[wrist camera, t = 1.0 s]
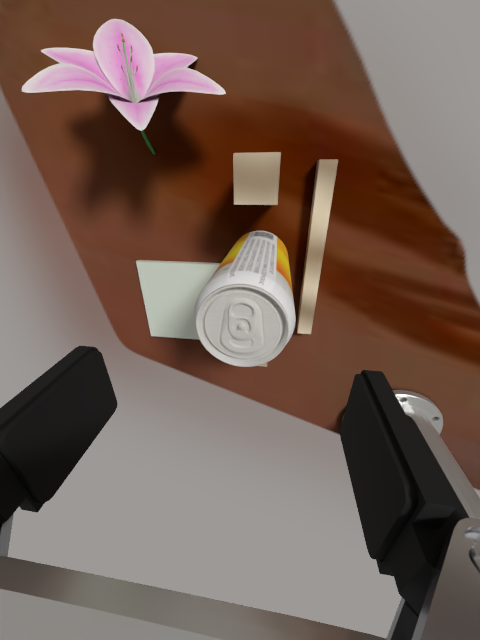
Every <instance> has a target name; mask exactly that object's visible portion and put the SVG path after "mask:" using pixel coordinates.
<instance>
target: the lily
mask: <svg viewBox="0 0 480 640" xmlns="http://www.w3.org/2000/svg"><path fill="white" fill-rule="evenodd" d="M93 48H94V52H93V51H88V50H83V49H74V48H47V49H43V50H41V52H42V53H44V54H46V55H47V56H49V57H51V58H53V59H54V60H56V61H58V62H59V64H56V65H53V66H49V67H48V68H46V69H44V70H42V71H40V72H39V73H37V74H36V75H35V76H33V77H32V78H31V79H29V80H28V81H27V82H26V83H25V84H24V86H23V87H22V92H27V93H35V92H50V91H65V90H87V91H98V92H103V93H105V94H107V95H108V96H109V97H108V98H109V100H110V101H111V102H112V103H113V105H114V106H115V107H116V108H117V109H118V110H119V112H120V113H121V114H122V115H123V116H124V117H125V118H126V119H127V120H128V121H129V122H130V123H131V124H132V125H133V126H134V127H135V128H136V129H138V130H140V131H141V133H142V136H143V137H144V139H145V141H146V143H147V145H148V147H149V148H150V150H151V152H152V153H153V155H155V154H156V153H155V151H154V149H153V147H152V145H151V144H150V142H149V140H148V138H147V136H146V134H145V132H144V129H145V128H146V127H147V125H148V123H149V121H150V119H151V117H152V115H153V113H154V111H155V108H156V106H157V103H158V100H159V97H157V96H158V95H159V94H160V93H165V92H177V91H187V92H199V93H208V94H219V95H223V94H226V92H225V90H224V89H223V88H222V87H221V86H219V85H218V84H217V83H216V82H214V81H213V80H211V79H210V78H208V77H207V76H205V75H203V74H201V73H199V72H198V71H195V70H192V69H190V68H187V67H188V66H189V65H190V64H192V63H193V62H194V61H195V60H197V59H198V58H197V57H195V56H193V55H188V54H181V53H160V54H153V51H152V48H151V46H150V44H149V42H148V41H147V39H146V38H145V37H144V36H143V35H142V33H141V32H139V31H138V30H137V29H136V28H135V27H133V26H132V25H130V24H129V23H127V22H125V21H123V20H119V19H112V20H109V21H107V22H106V23H104V24H103V25H102V26H101V27H100V28H99V29H98V31H97V32H96V34H95V36H94V42H93ZM110 97H111V98H110ZM156 97H157V98H156Z"/></svg>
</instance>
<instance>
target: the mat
mask: <svg viewBox="0 0 480 640" xmlns="http://www.w3.org/2000/svg"><path fill="white" fill-rule="evenodd" d="M136 264H137V269H138V274H139V279H140V284H141V289H142V294H143V299H144V303H145V308H146V313H147V318H148V323H149V328H150V333H151V336H158V337H171V338H185V339H198V340H200V339H199V337H198V334H197V330H196V321H195V305H196V301H197V298H198V296H199V294H200V292H201V291H202V289H203V288H204V287H205V285H206V284H207V282H208V281H209V280H210V278H211V277H212V275H213V274H214V273H215V271H216V270H217V268H218V267H219V265H220V264H221V263H206V262H179V261H151V260H138V261H136Z"/></svg>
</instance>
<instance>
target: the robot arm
mask: <svg viewBox="0 0 480 640" xmlns="http://www.w3.org/2000/svg"><path fill="white" fill-rule="evenodd" d="M116 408H117V400H116V397H115V394H114V391H113V387H112V384H111V381H110V378H109V375H108V372H107V369H106V366H105V363H104V359H103V356H102V354H101V352H99V351H98V349H97V348H95V347H87V346H79V347H77V348H75V349H74V350H73V351H71V352H70V353H69V354H68V355H66V356H65V357H64V358H63V359H62V360H60V361H59V362H58V363H56V364H55V365H54V366H53V367H52V368H50V369H49V370H48V371H46V372H45V373H44V374H43V375H42V376H40V377H39V378H38V379H36V380H35V381H34V382H33V383H31V384H30V385H29V386H28V387H26V388H25V389H24V390H23V391H21V392H20V393H19V394H18V395H17V396H15V397H14V398H13V399H11V400H10V401H9V402H8V403H6V404H5V405H4V406H3V407H2V408H0V640H480V498H479V496H478V495H477V494H476V492H475V490H474V489H473V487H472V485H471V484H470V482H469V481H468V479H467V478H466V476H465V474H464V473H463V471H462V470H461V468H460V467H459V465H458V463H457V462H456V460H455V459H454V457H453V456H452V454H451V452H450V451H449V449H448V448H447V446H446V445H445V443H444V441H443V440H442V438H441V437H440V435H439V434H440V433H441V430H442V428H443V418H442V414H441V413H440V411H439V410H438V408H437V407H436V405H435V404H434V403H433V402H432V401H431V400H429V399H428V398H427V397H425V396H423V395H421V394H418V393H415V392H411V391H405V390H392V388H391V386H390V385H389V383H388V381H387V379H386V377H385V375H384V374H383V373H382V372H380V371H368V370H362V372H361V374H356V375H355V377H354V381H353V385H352V388H351V392H350V395H349V399H348V403H347V406H346V410H345V413H344V415H343V418H342V424H341V428H340V436H341V441H342V445H343V449H344V453H345V457H346V461H347V466H348V470H349V474H350V478H351V482H352V486H353V491H354V495H355V499H356V503H357V507H358V512H359V516H360V520H361V524H362V528H363V532H364V537H365V541H366V545H367V549H368V552H369V555H370V557H371V558H372V559H376V560H377V564H378V568H379V572H380V574H386V575H391V576H394V578H395V581H396V585H397V588H398V592H399V594H400V595H401V596H402V599H401V601H400V604H399V607H398V610H397V612H396V615H395V617H394V620H393V623H392V625H391V628H390V630H389V633H388V636H387V638H386V639H385V638H381V637H378V636H375V635H371V634H367V633H362V632H358V631H354V630H349V629H345V628H341V627H337V626H333V625H328V624H324V623H320V622H316V621H311V620H307V619H303V618H298V617H294V616H290V615H285V614H280V613H276V612H271V611H266V610H261V609H256V608H252V607H247V606H243V605H238V604H233V603H228V602H224V601H219V600H214V599H210V598H205V597H200V596H195V595H191V594H186V593H181V592H176V591H171V590H167V589H162V588H157V587H152V586H148V585H142V584H138V583H133V582H128V581H123V580H118V579H113V578H108V577H104V576H99V575H94V574H89V573H85V572H80V571H74V570H70V569H65V568H60V567H55V566H50V565H45V564H40V563H35V562H30V561H25V560H20V559H15V558H10V557H7V555H8V548H9V542H10V535H11V527H12V520H13V513H14V512H15V511H16V509H17V508H18V507H19V506H20V507H21V509H22V510H28V511H33V512H38V511H39V510H40V508H41V507H42V506H43V504H44V503H45V502H46V501H48V500H50V499H51V498H52V497H53V496H54V494H55V493H56V491H57V490H58V489H59V487H60V486H61V485H62V483H63V482H64V480H65V479H66V478H67V476H68V475H69V474H70V472H71V471H72V470H73V468H74V467H75V465H76V464H77V463H78V461H79V460H80V458H81V457H82V456H83V454H84V453H85V452H86V450H87V449H88V447H89V446H90V445H91V443H92V442H93V440H94V439H95V438H96V436H97V435H98V434H99V432H100V431H101V430H102V428H103V427H104V426H105V424H106V423H107V421H108V420H109V419H110V417H111V416H112V415H113V413H114V412H115V410H116Z"/></svg>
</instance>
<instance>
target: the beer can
mask: <svg viewBox="0 0 480 640" xmlns="http://www.w3.org/2000/svg"><path fill="white" fill-rule="evenodd" d="M195 321H196V330H197V334H198V337H199V339H200V341H201V343H202V344H203V346H204V347H205V348H206V350H207V351H208V352H209V353H210V354H212V355H213V356H214V357H216V358H217V359H219V360H221V361H223V362H225V363H227V364H230V365H234V366H240V367H252V366H258V365H261V364H264V363H266V362H269V361H270V360H272V359H273V358H275V357H276V356H277V355H278V354H279V353H280V352H281V351H282V350H283V348H284V347H285V345H286V344H287V343H288V341H289V340H290V338H291V336H292V334H293V331H294V328H295V322H296V316H295V308H294V300H293V292H292V284H291V276H290V268H289V260H288V253H287V250H286V247H285V245H284V244H283V242H282V241H281V240H280V239H279V238H278V237H277V236H275V235H274V234H272V233H269V232H266V231H253V232H249V233H247V234H245V235H243V236H242V237H241V238H239V239H238V240H237V242H236V243H235V244H234V246H233V247H232V249H231V250H230V251H229V253H228V254H227V256H226V257H225V258H224V260H223V261H222V263H221V264H220V265H219V267H218V268H217V270H216V271H215V273H214V274H213V275H212V277H211V278H210V280H209V281H208V282H207V284H206V285H205V287H204V288H203V289H202V291H201V292H200V294H199V296H198V298H197V301H196V305H195Z"/></svg>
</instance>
